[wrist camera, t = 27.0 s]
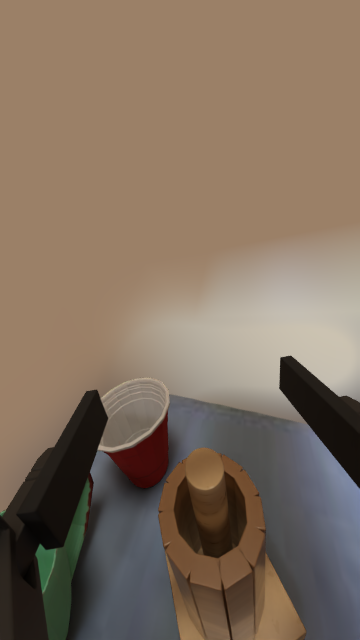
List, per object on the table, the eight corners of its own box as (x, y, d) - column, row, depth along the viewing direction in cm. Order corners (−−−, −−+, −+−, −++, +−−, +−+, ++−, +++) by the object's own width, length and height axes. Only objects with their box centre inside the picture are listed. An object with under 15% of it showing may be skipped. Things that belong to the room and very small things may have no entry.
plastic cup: (110, 448, 32) (87, 391, 27) (172, 423, 34) (159, 368, 30) (109, 533, 22) (71, 466, 18) (195, 490, 24) (181, 422, 20)
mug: (36, 832, 11) (-75, 841, 7) (-83, 761, 13) (-216, 741, 9) (135, 504, 24) (113, 450, 21) (69, 495, 26) (39, 445, 23)
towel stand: (305, 638, 15) (334, 521, 9) (198, 729, 12) (141, 653, 7) (236, 502, 23) (228, 394, 17) (164, 542, 20) (126, 434, 15)
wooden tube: (272, 668, 13) (277, 606, 9) (175, 634, 15) (143, 570, 11) (256, 528, 19) (254, 456, 15) (189, 516, 21) (172, 448, 17)
